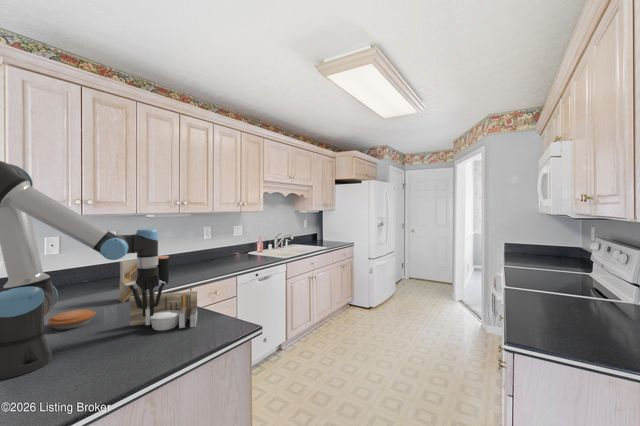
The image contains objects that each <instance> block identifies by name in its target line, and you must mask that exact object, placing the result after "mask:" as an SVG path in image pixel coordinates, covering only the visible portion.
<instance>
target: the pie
mask: <svg viewBox="0 0 640 426" xmlns="http://www.w3.org/2000/svg"><path fill="white" fill-rule="evenodd" d="M95 315H96V311H94V310H91V309H86V308H85V309H81V308H80V309H74V310H73V309H72V310H69V311H65V312H60V313H58V314H56V315H54V316H52V317H49V319H48V320H47V323H48V324H50V325H51V327H53V328H54V329H55V330H56V331H57V330H58V331H60V330H61V331H65V330H72V329H76V328H81V327H83V326H86V325H87V324H89V323H90V322H91V320H92V319H93V317H94V316H95Z"/></svg>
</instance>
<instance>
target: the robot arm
mask: <svg viewBox="0 0 640 426" xmlns="http://www.w3.org/2000/svg"><path fill="white" fill-rule="evenodd" d="M32 218H33V219H35V220H37V221H38V222H41V223H43V224H45V225H47V226H49V227H50V228H52V229H54V230H56V231H58V232H59V233H61V234H64V235H65V236H68V238H71V239H73V240H75V241H77V242H78V243H81V244H83V245H85V246H86V247H88V248H90V249H92V250H93V251H95V252H97V253H99V254H100V255H101V256H102V257H104V258H105V259H107V260H109V261H116V260H117V261H118V260H120V259H123V257H125V256H126V255H129V254H136V260H137V267H139V268H138V269H137V280H136V283H134V284H132V285H131V286H130V287H129V288H130V289H131V290H132V292H133V295H134V298H135V301H136V305H137V308H141V309H143V317H146V324H145V326H150V325H152V324H151V320H150V316H153V315H154V307H156V306H158V304H159V301H160V297H161V294H163V289H164V287H165V285H167V284H166V282H162V281H161V280H160V278H159V276H158V266H157V265H158V256H159V235H158V230H157V229H155V228H139V229H137V230H136V233H135V234H134V233H133V234H115V233H113V232H111V231H109V230H107V229H105V228H104V227H102V226H101V225H98V224H97V223H96V222H93V221H92V220H90V219H88V218H86V217H85V216H83V215H81V214H79V213H78V212H76V211H74V210H73V209H71V208H69V207H68V206H66V205H64V204H63V203H60V202H59V201H57V200H55V199H53V198H52V197H50V196H48V195H46V194H45V193H43V192H41V191H39V190H38V189H36V188H34V182H33V179H32V177H31V176H30V174H29V173H28V172H27V171H26V170H24V169H23V168H21V167H19V166H17V165H14V164H11V163H10V164H9V163H7V162H5V161H2V160H0V250H1V255H2V258H3V263H4V267H5V270H6V275H7V282H6V283H5V284H4V285H3V286H2V287H3V291H0V380H6V379H10V378H15V377H19V376H22V375H25V374H28V373H30V372H33V371H36V370H38V369H40V368H42V367H44V366H45V365H46V366H47V364H49V363H50V362H51V360H52V357H53V355H52V349H51V346H50V345H49V343H48V341H47V339H46V337H45V316H47V314H48V313H49V312H50V311H51V310H52V309H54V307H55V306H56V304H57V302H58V296H59V294H58V290H57V288H56V287H55V286H54V284H53V283H52V280H51V276H50V275H49V274H47V273H45V272H44V271H43V266H42V265H43V264H42V262H41V256H40V253H39V248H38V244H37V240H36V235H35V230H34V227H33V222H32ZM158 283H159V285H157V284H158ZM137 285H138V286H139V287H140V288H141V289H142V303H141V299H140V296H139V293H138V290H137ZM156 286H158V287H159V288H158V289H157V297H156V301H155V303H154V295H155V288H156ZM148 290H149V291H148ZM148 293H149V294H148ZM147 295H149V301H150V307H147Z"/></svg>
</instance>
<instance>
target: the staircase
mask: <svg viewBox="0 0 640 426" xmlns="http://www.w3.org/2000/svg"><path fill="white" fill-rule="evenodd" d="M119 265H120V266H119V272H120V273H119V277H120V278H119V302H121V303H125V301H128V300H129V301H130V297H132V296H134V295H133V292H132V290H131V289H130V288H129V287H130V286H131V285H132V284H134V283H136V280H137V269H138V268H139V267H137V259H128V260H121V261H120V260H119ZM137 290H138V293H139V296H142V289H141V288H140V287H139V286H138V285H137Z"/></svg>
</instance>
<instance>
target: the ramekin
mask: <svg viewBox="0 0 640 426" xmlns="http://www.w3.org/2000/svg"><path fill="white" fill-rule="evenodd" d="M179 313H180V311H178V310H164V311H159V312H156V313H154V315H153V316H150V320H151V324H150V325H151V327H152V329H153V330H155V331H169V330H171V329H174V328H176V327H177V326H179Z"/></svg>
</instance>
